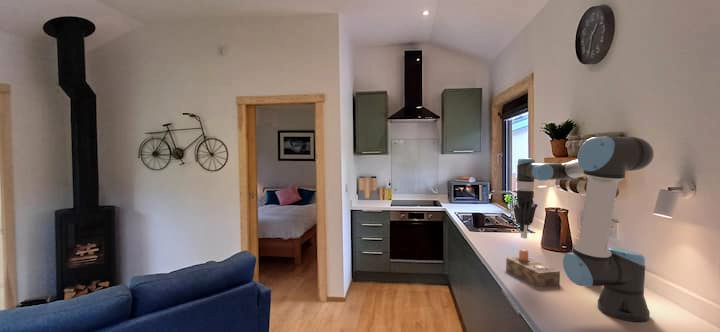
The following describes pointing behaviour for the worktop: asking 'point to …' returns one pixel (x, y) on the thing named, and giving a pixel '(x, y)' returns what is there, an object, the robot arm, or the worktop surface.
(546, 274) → the walnut plug block
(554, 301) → the worktop surface
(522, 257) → the terracotta plug
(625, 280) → the robot arm
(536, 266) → the white oval piece
